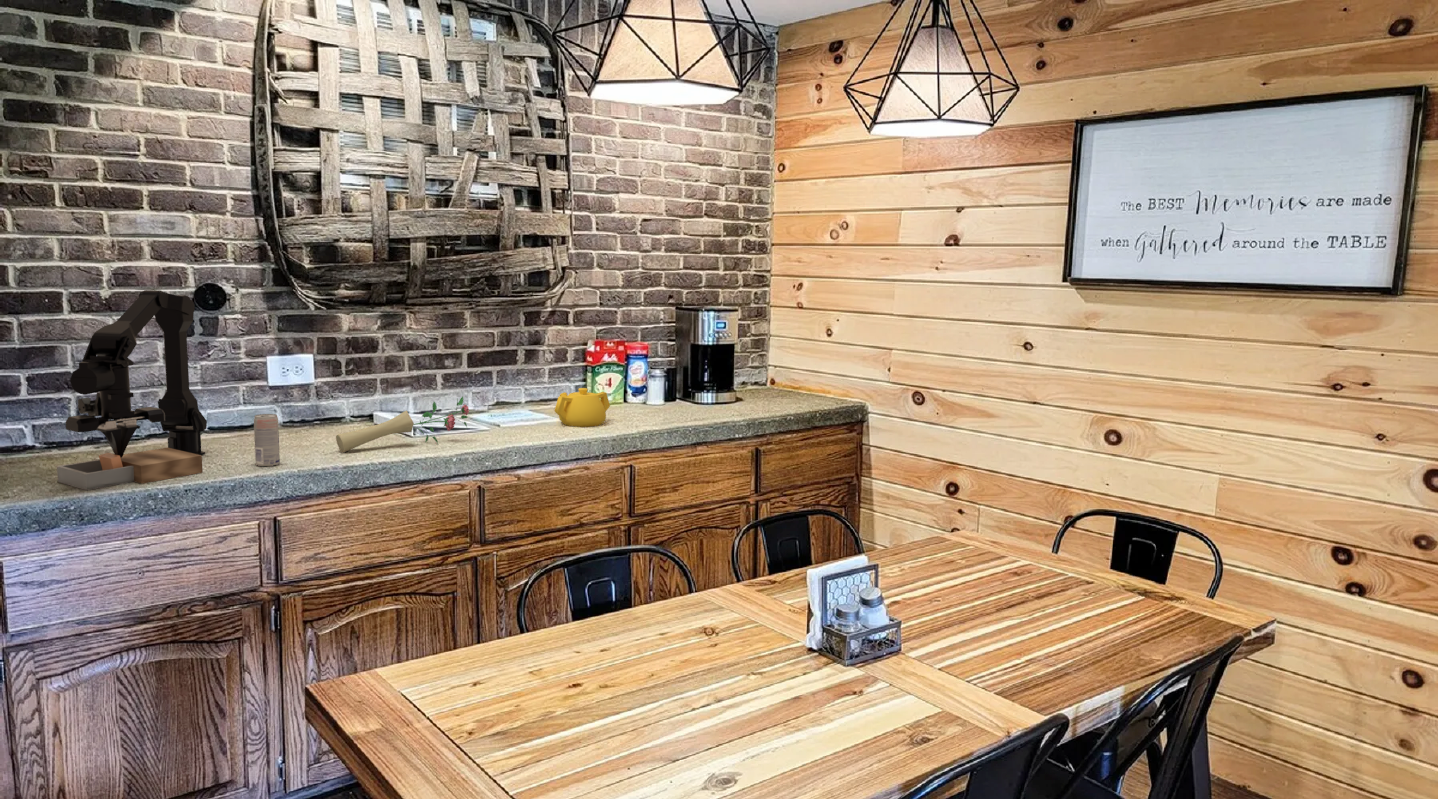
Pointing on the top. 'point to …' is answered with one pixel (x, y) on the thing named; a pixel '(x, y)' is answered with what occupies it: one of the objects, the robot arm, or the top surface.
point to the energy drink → (266, 440)
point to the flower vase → (394, 428)
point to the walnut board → (162, 464)
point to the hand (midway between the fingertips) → (119, 457)
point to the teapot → (582, 408)
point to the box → (93, 475)
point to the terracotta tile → (110, 461)
